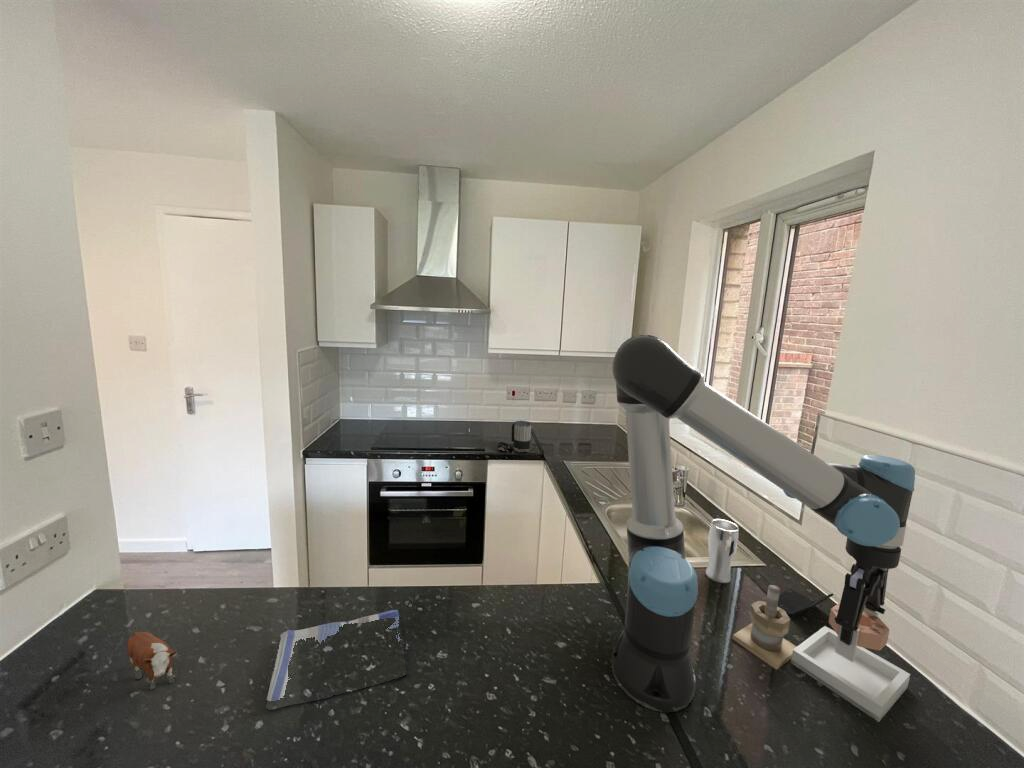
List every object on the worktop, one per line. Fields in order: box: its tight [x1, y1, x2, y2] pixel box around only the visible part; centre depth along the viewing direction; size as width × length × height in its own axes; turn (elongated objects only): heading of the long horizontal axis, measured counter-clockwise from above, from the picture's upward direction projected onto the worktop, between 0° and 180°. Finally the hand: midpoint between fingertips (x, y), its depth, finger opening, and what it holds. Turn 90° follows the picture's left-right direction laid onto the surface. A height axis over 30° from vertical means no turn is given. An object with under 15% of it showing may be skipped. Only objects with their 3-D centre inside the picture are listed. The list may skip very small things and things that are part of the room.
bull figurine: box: [126, 631, 179, 683], centre depth 71 cm, size 4×13×8 cm, turn 58°
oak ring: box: [749, 600, 791, 637], centre depth 85 cm, size 6×6×3 cm
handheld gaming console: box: [777, 588, 834, 620], centre depth 98 cm, size 12×7×10 cm
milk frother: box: [496, 420, 533, 449], centre depth 208 cm, size 14×16×15 cm
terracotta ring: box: [828, 603, 890, 651], centre depth 78 cm, size 8×8×3 cm
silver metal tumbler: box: [705, 518, 740, 584], centre depth 109 cm, size 7×7×15 cm
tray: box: [790, 625, 911, 723], centre depth 80 cm, size 14×14×3 cm
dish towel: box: [266, 609, 402, 701], centre depth 78 cm, size 17×24×3 cm
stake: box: [732, 584, 798, 670], centre depth 85 cm, size 9×9×14 cm
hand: (854, 647), depth 79 cm, fingers closed on terracotta ring, 8 cm apart
